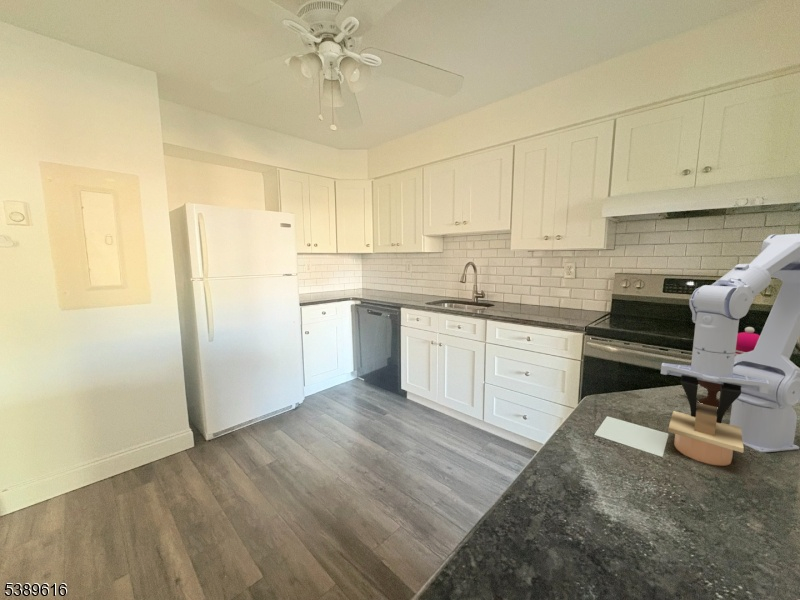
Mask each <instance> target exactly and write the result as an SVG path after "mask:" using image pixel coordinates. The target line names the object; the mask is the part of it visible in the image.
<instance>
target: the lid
mask: <svg viewBox="0 0 800 600" xmlns="http://www.w3.org/2000/svg"><path fill="white" fill-rule="evenodd" d="M670 417H671V418H670V422H669V425H668V429H667V432H668V433H671V434H674V435H675V434H678V435H681V436H685V437H689V438H692V439H696V440H699V441H703V442H706V443H710V444H713V445H717V446H720V447H724V448H728V449H731V450H733V451H735V452H739V453H742V454H744V450H745V449H744V448H745V447H744V446H745V445H744V444H743V440H742V433H741V427H737V426H733V425H729V424H730V423H729V424H728V423H724V422H721V423H717V422H716V421H717V407H714V406H709V405H705V404H700V403H698V402H697V410H696V417H692V416H691V414H687V413H684V412H679V411H675V410H673V411H672V415H671V416H670Z"/></svg>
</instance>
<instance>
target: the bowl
mask: <svg viewBox="0 0 800 600" xmlns="http://www.w3.org/2000/svg"><path fill="white" fill-rule="evenodd" d="M673 441H674V442H673V445H674V447H675V449H676V450H677V451H678V452H680V453H681V454H683V455H684V456H686V457H688V458H690V459H693V460H695V461H697V462H701V463H703V464H707V465H713V466H721V467H722V466H728V465H731V463H732V461H733V455H734V454H733V453H734V450H731V449H728V448H724V447H720V446H717V445H713V444H710V443H706V442H703V441H699V440H696V439H692V438H689V437H685V436H681V435H678V434H674V440H673Z"/></svg>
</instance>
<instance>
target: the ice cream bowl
mask: <svg viewBox="0 0 800 600" xmlns="http://www.w3.org/2000/svg"><path fill="white" fill-rule="evenodd" d="M686 365H687V366H691V363H689V364H686ZM698 386H700V387H702V388H704V389H706V391H707V396H706V397H702V398H698V399H697V400H698V401H699V402H700V403H703V404H705V405H709V406H714V407H718V405H719V399H717V396H718V393H720V390H721V384H718V383H713V382H707V381H702V380H698Z"/></svg>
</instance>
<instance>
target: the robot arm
mask: <svg viewBox="0 0 800 600" xmlns="http://www.w3.org/2000/svg"><path fill="white" fill-rule="evenodd" d="M772 277H773V278H775V279H777V280H780V281H781V282H782V284H781V286H780V289H779V291H778V294H777V295H776V299H775V300H774V303H773V305H772V306H771V310H770V312H769V315H768V317H767V319H766V321H765V322H764V323H765V324H764V326H763V327H762V330H761V332H760V337H759V339H758V342H757V344H756V346H755V348H754V350H753V351H750V352H746V353H743V354H739V355H736V356H735V351H736V343H737V335H738V333H739V325H740V324H739V323H740V319H742V318H743V317H745V316H746V315H747V314H748V313H749V310H750V308H751V305H752V304H753V303H754V300H755V297H756V296H758V295H759V294H760V293H762V292H763V291H764V290H765V289H766V288H767V287H769V286H770V284H771V282H772ZM688 301H689V303H688V304H689V308H690V311H691V314H692V315H691V316H692V317H691V321H692V323H694V324H695V325H694V336H693V344H692V351H691V353H692V354H691V361H690V364H691V366H687V365H688V364H686V365H685V364H675V363H667V362H662V363H661V364H660V365H661V367H660V374H661V375H665V376H667V375H671V376H676V377H680V384H681V387H682V388H683V390H684V392H685V395H686V398H687V400H688V404H689V409H690V415H691V416H692V417H696V410H697V403H698V402H697V400H698V399H697V396H698V387H699V384H698V380H702V381H707V382H713V383H718V384H721V390H720V391H719V399H718V401H719V405H718V409H717V421H716V422H717V423H723V418H724V416H725V414H726V412H727V411H728V410H729V408H730V407H731V409H730V417H729V418H730V419H729V425H733V426H737V427H741V433H742V440H743V446H746V447H749V448H750V449H753V450H755V451H757V452H758V453H759V452H760V453H772V452H781V451H783V452H784V451H792V450H794V451H795V450H799V449H800V446H799V445H796V444H795V443H794V442H795V435H796V427H797V423H798V415H797V413H796V411H795V409H794V408H793V407H794V406H795V405H797V404H798V403H799V402H800V367H799V366H797V365H796V364H795V363H794V362H793V361H791V360H790V359H791V356H792V354H793V351H794V349H795V347H796V345H797V341H798V340H799V337H800V233H789V234H788V233H787V234H776V233H774V234H773V233H772V234H770V235H768V236H767V237H766V238H765V239H764V240H763V241H762V243H761V246H760V253H758V255H757V256H756V257H755V258H753V259H752V261H750V262H749V263H739V264H738V263H737V264H736V265H735V266H734V267H733V268H732V269H731V270H729V271H728V272H727V273H725V274H724V275H723V276H722V277H721V276H720V278H718V279H717V280H716V281H715V282H713V283H712V284H709V285H708V284H705V285H704V284H703V285H702V286H699V287H698V288H695V290H694V291H693V292H692V294H691V297H690V298H689V299H688Z"/></svg>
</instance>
